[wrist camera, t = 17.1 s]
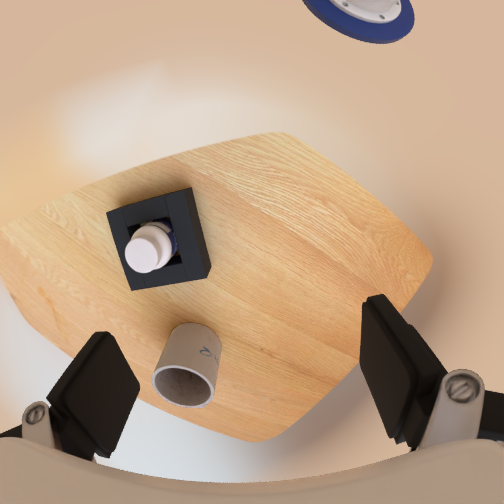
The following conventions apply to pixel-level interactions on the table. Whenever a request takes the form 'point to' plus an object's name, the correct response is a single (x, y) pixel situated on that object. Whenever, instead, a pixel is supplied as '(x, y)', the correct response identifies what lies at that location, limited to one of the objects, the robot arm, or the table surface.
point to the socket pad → (185, 230)
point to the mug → (188, 366)
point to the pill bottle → (151, 246)
